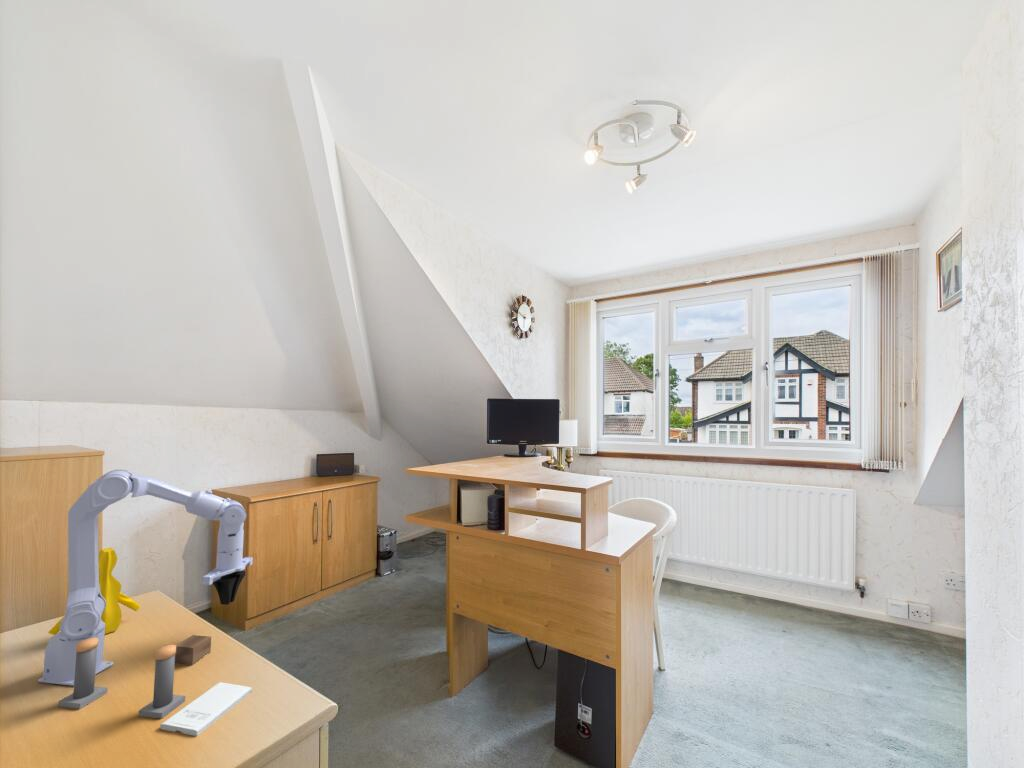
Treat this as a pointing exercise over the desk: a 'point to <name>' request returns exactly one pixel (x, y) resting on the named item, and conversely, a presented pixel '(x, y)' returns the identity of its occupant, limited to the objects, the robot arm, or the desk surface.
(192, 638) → the walnut block
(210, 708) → the external hard drive
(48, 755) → the desk surface
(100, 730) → the desk surface
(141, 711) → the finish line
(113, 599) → the figure statuette
